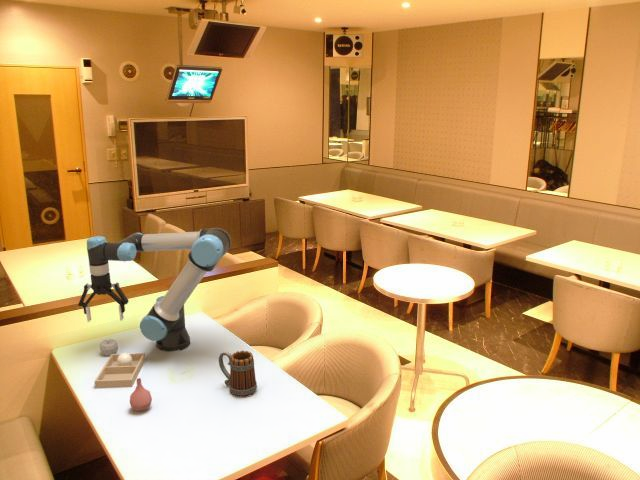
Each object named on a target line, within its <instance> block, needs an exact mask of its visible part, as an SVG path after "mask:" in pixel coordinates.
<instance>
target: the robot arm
mask: <svg viewBox="0 0 640 480" xmlns="http://www.w3.org/2000/svg"><path fill="white" fill-rule="evenodd" d="M231 246H232V238H231V235H230V234H229V232H227V231H226V230H225V229H223V228H219V227H211V228H210V227H209V228H201V229H200V230H198V231H186V232H185V231H184V232H168V233H167V232H166V233H165V232H164V233H163V232H162V233H146V234H143V233H141V232H134V233H131V234H130V235H129V236H127V237H125V238H123V239H122V240H120V241H117V242H109V241H108V242H107V239H106V237H105V236H99V235H96V236H91V237H89V238H87V239H86V250H87V251H86V252H87V257H88V265H89V266H88V267H89V274H90V282H91V283H90V284H89V283H85V284H84V286H83V292H82V295H81V297H80V300H79V302H78V304H77V306H78V307H82V309H83V314H84V315H86V320H87V323H90V321H91V320H92V315H91V308H90V307H91V306H90V304H89V303H90V302H91V301H92V300H93V298H95V296H96V295H98V296H100V295H104V296H105V295H107V296H109V297H111V298H112V299H113V301H115V302H116V303H117V304H118V313H119V320H120V321H121V322H122V321H123V319H124V318H125V317H124V313H125V311H126V307H125V305H128V303H129V299H128V298H127V296H126V295H125V293H124V292H123V290H122V289H121V287H120V283H119V282H115V283H112V281H111V275H110V267H109V266H110V265H109V261H115V262H130V261H131V262H132V261H134V260H135V259H136V258H135V257H136V256H137V253H144V252H163V251H167V252H168V251H188V250H190V251H189V253H188V255H187V258H188V260H187V263H186V264H185V265H184V267H183V269H181V271H180V273H179V274H178V275H177V277H176V279H175V280H174V281H173V283H172V284H171V286H170V288H169V289H168V290H167V292H166V293H165V294H164V295H163V296H158V297H157V298H156V301H155V303H154V304H153V306H152V307H151V308H150V310H149V311H148V313H147V314H146V315H145V316H144V317H142V319H141V320H140V323H139V329H140V332H141V333H142V335H143V336H144V337H145V338H146V339H148V340H150V341H153V342H155V347H156V348H157V349H158V350H160V351H164V352H175V351H182V350H184V349H186V348H188V347H189V346H190V345H191V337H190V334H189V332H188V330H187V327H186V317H185V303H187V301H188V299H189V298H190V297H191V295H192V293H193V292H194V291H195V289H196V288H197V287H198V285H199V283H201V281H202V280H203V278H204V277H205V275H206V274H207V273H209V272H212V271H213V270H214V269H215V267H216V266H217V264H218V263H219V262H220V260H222V258H223V257H224V255H226V254H227V253H228V252H229V250H230V249H231ZM112 288H113V289H114V290H115V292H116V293H115V292H114V290H113V289H112ZM90 289H91V290H92V293H91V295H90V296H89V297H88V298H87V299H86V297H87V294H88V292H89V290H90ZM85 299H86V301H85Z"/></svg>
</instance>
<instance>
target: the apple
mask: <svg viewBox="0 0 640 480" xmlns="http://www.w3.org/2000/svg"><path fill="white" fill-rule="evenodd" d="M118 347H119V344H118V342H117V340H116V339H111V338H108V339H104V340H103V341H101V342H100V343H99V350H100V352H101V353H102V355H103V356H104V357H105V356H106V357H110V356H111V354H117V351H118Z"/></svg>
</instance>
